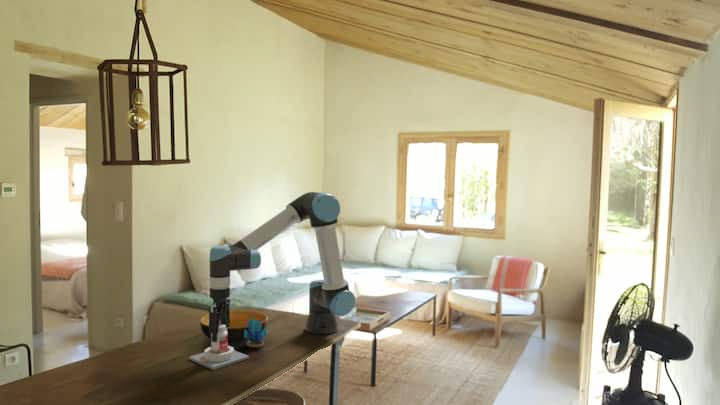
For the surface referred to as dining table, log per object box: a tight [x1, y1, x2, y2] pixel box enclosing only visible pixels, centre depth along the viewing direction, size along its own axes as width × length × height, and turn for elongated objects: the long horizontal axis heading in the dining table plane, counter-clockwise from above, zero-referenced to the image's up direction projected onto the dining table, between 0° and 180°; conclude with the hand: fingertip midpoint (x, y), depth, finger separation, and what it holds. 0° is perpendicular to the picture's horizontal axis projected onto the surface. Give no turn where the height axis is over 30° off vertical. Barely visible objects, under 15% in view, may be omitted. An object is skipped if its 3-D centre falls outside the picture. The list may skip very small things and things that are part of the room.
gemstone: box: [243, 317, 268, 348], centre depth 215 cm, size 7×9×12 cm
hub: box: [188, 345, 250, 371], centre depth 198 cm, size 16×16×4 cm
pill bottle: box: [210, 323, 229, 354], centre depth 197 cm, size 6×6×11 cm
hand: (219, 346), depth 197 cm, fingers closed on pill bottle, 6 cm apart
